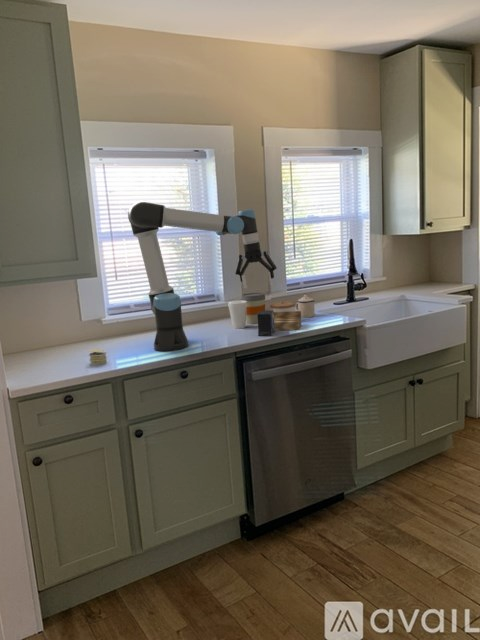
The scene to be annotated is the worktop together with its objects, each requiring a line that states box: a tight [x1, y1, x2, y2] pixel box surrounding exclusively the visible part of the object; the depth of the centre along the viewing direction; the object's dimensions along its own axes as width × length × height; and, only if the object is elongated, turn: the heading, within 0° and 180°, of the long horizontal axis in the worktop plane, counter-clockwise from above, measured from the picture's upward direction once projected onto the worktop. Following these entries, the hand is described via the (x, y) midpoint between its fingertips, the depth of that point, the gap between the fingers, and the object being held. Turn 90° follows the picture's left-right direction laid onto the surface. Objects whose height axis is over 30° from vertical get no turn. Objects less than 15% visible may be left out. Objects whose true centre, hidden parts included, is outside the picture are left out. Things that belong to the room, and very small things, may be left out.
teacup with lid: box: [295, 294, 316, 319], centre depth 293 cm, size 12×9×12 cm
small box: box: [257, 309, 275, 337], centre depth 254 cm, size 11×6×10 cm, turn 168°
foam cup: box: [227, 300, 247, 329], centre depth 274 cm, size 10×9×13 cm
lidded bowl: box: [270, 299, 296, 312], centre depth 283 cm, size 13×13×11 cm
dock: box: [273, 310, 302, 332], centre depth 265 cm, size 15×13×7 cm
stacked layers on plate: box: [88, 348, 108, 365], centre depth 220 cm, size 10×9×6 cm
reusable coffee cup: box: [241, 292, 266, 325], centre depth 285 cm, size 13×13×15 cm
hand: (258, 286), depth 259 cm, fingers open, 13 cm apart
